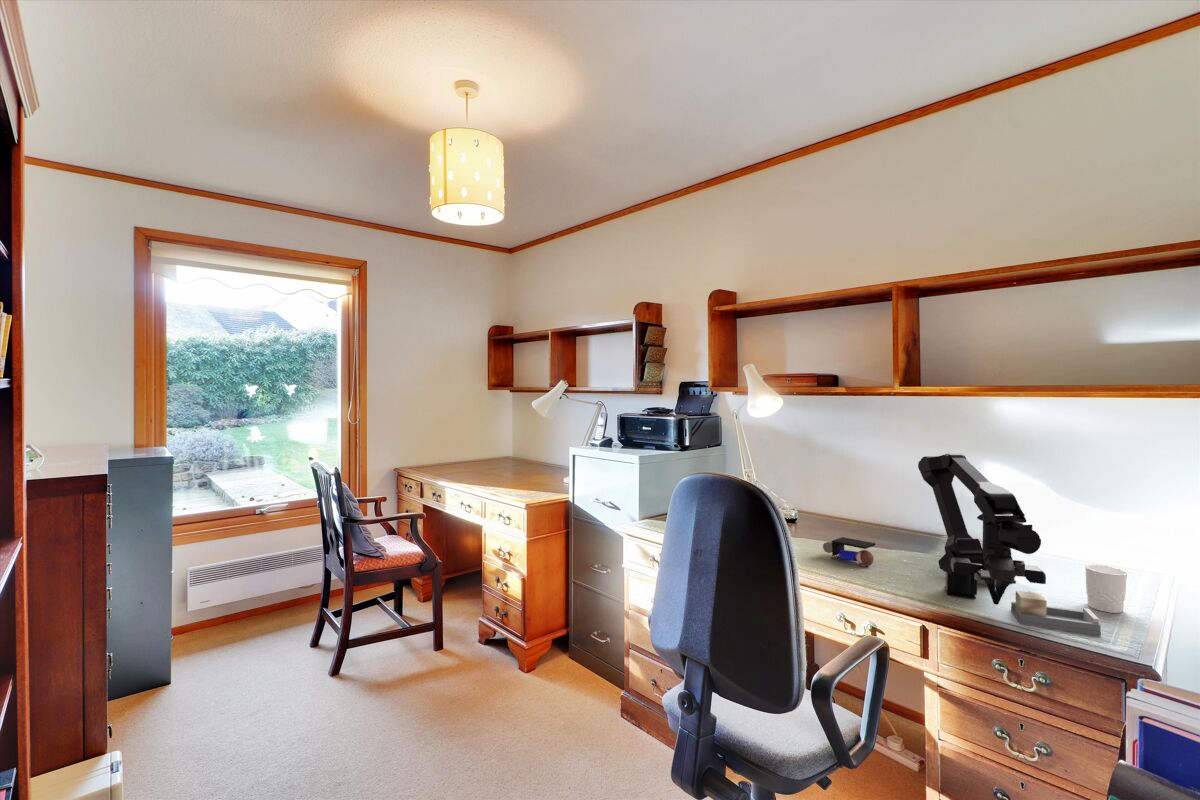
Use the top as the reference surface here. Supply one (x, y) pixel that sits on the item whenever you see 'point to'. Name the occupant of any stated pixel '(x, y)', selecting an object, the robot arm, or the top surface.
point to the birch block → (1030, 603)
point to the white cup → (1105, 588)
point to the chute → (1062, 620)
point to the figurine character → (838, 549)
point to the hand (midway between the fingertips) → (995, 604)
